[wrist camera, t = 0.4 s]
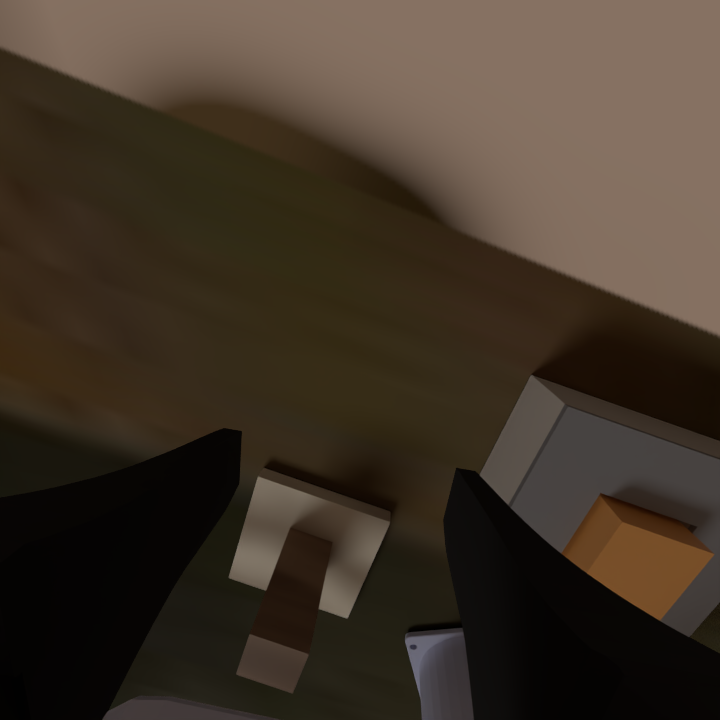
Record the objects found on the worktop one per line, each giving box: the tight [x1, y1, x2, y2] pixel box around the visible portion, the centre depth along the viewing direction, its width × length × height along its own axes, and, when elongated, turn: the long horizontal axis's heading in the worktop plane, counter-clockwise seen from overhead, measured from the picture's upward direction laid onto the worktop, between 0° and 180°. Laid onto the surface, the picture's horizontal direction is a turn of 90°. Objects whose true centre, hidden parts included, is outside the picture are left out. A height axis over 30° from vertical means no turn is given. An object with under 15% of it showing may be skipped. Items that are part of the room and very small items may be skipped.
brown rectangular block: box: [236, 528, 333, 693], centre depth 21 cm, size 3×3×7 cm
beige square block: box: [229, 468, 390, 618], centre depth 25 cm, size 9×9×1 cm
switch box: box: [480, 375, 720, 637], centre depth 20 cm, size 12×12×4 cm
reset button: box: [561, 493, 714, 621], centre depth 18 cm, size 4×4×3 cm
